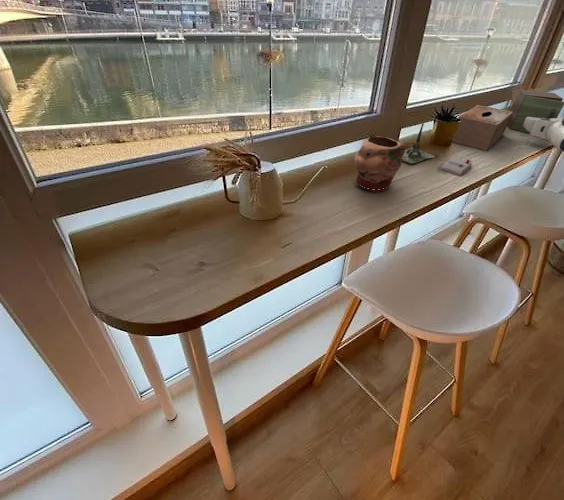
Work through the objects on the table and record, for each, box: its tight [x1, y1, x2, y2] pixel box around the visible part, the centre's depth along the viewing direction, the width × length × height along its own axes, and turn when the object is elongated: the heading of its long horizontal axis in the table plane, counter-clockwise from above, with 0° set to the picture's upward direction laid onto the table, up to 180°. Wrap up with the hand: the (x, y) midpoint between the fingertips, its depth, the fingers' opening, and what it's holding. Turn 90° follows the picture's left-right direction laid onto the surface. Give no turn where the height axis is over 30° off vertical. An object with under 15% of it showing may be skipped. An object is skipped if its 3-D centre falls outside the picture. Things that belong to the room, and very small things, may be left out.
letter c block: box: [510, 96, 564, 134], centre depth 143 cm, size 6×15×14 cm, turn 52°
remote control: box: [440, 157, 473, 176], centre depth 114 cm, size 7×16×3 cm, turn 136°
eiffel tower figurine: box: [402, 122, 436, 164], centre depth 118 cm, size 15×10×13 cm
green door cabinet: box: [507, 89, 564, 129], centre depth 151 cm, size 11×15×15 cm
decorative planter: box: [353, 135, 406, 193], centre depth 99 cm, size 20×12×14 cm, turn 128°
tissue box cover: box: [451, 104, 513, 152], centre depth 137 cm, size 26×14×10 cm, turn 138°
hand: (547, 120), depth 139 cm, fingers closed
